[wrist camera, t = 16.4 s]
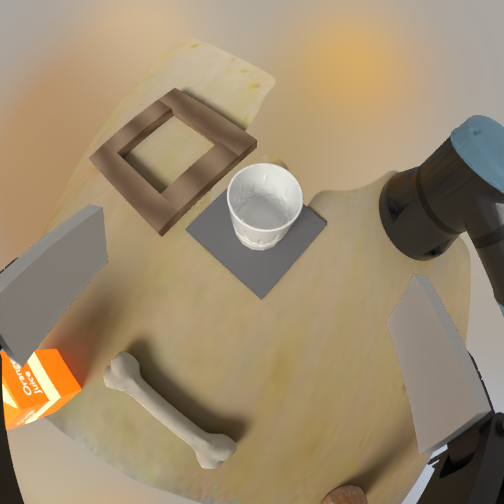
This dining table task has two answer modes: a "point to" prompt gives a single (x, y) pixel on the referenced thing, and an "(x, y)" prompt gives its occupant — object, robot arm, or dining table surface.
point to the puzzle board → (193, 179)
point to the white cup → (263, 204)
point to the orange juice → (35, 387)
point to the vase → (346, 496)
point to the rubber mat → (245, 259)
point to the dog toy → (167, 412)
